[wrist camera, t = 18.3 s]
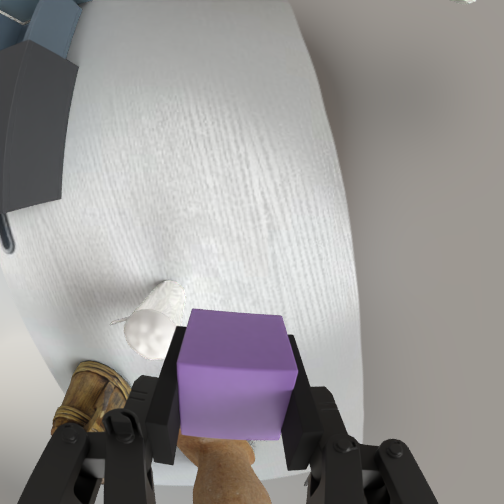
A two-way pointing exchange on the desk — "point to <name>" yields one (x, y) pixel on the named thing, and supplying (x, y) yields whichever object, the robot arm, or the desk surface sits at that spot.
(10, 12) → the drawer
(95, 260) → the desk surface
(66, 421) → the wooden mug
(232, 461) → the stone cup
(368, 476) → the robot arm
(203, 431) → the cube
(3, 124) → the cabinet
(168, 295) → the milkshake
